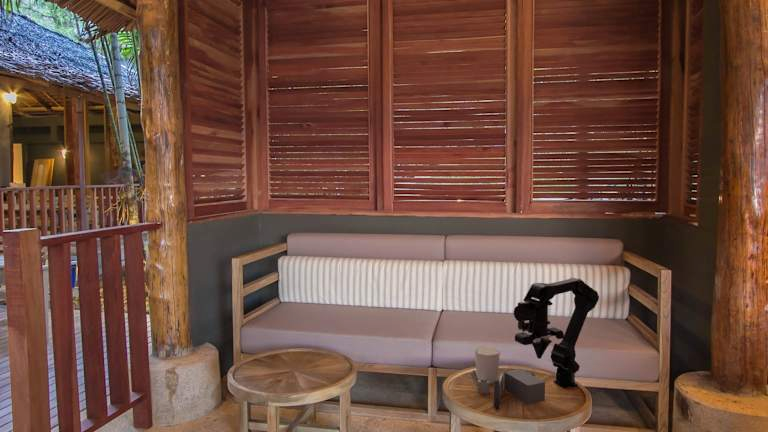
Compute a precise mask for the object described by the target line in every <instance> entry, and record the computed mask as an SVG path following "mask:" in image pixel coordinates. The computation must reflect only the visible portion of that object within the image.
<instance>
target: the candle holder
mask: <svg viewBox="0 0 768 432" xmlns="http://www.w3.org/2000/svg"><path fill="white" fill-rule="evenodd" d="M500 355H501V350H500V349H499V348H497V347H494V346H489V345H488V346H487V345H484V346H478V347H476V348H475V349H474V356H475V357H474V358H475V373H476V375H477V378H478V380H481V378H485V379H487V381H489V385H491V384H494V379H498V380H499V371H500V370H499V368H500V357H501V356H500Z"/></svg>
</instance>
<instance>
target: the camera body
mask: <svg viewBox="0 0 768 432" xmlns="http://www.w3.org/2000/svg"><path fill="white" fill-rule="evenodd" d="M503 373H504V378H503V391H506V392H507V393H508V394H510V393H511V395H512V396H514V397H515V398H517V399H518V400H520V401H522V402H523V403H524V404H527V405H533V404H536V403H540V402H545V401H546V382H545V381H544V380H542V379H541V378H539V377H537V376H536V375H535V376H533V375H531V374H532V373H531V374H530V372H528V371H526V370H524V369H523V368H517V369H511V370H506V371H504V372H503Z"/></svg>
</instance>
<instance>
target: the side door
mask: <svg viewBox="0 0 768 432" xmlns="http://www.w3.org/2000/svg"><path fill="white" fill-rule="evenodd" d="M503 391H504V372H501V373H500V376H499V377H498V379H494V383H493V408H499V407H500V400H501V398H502V394H503Z"/></svg>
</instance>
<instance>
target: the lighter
mask: <svg viewBox="0 0 768 432" xmlns="http://www.w3.org/2000/svg"><path fill="white" fill-rule="evenodd" d="M469 374H470V376H471V378H472V380H473V382H474V383H477V393H480V394H486V395H488V394H490V384H489V381H487V379H485V378H481V380H478V378H477V375H476V370H475V369H472V370H470V371H469Z"/></svg>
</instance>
